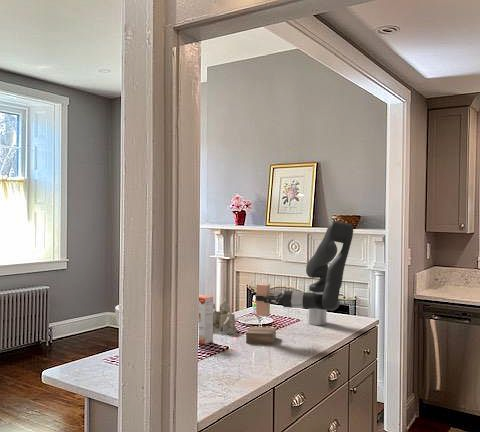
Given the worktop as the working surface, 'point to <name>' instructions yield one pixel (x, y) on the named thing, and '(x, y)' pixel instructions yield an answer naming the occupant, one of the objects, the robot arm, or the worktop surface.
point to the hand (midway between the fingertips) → (257, 297)
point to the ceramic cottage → (223, 320)
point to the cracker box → (205, 319)
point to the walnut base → (261, 335)
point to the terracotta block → (262, 307)
